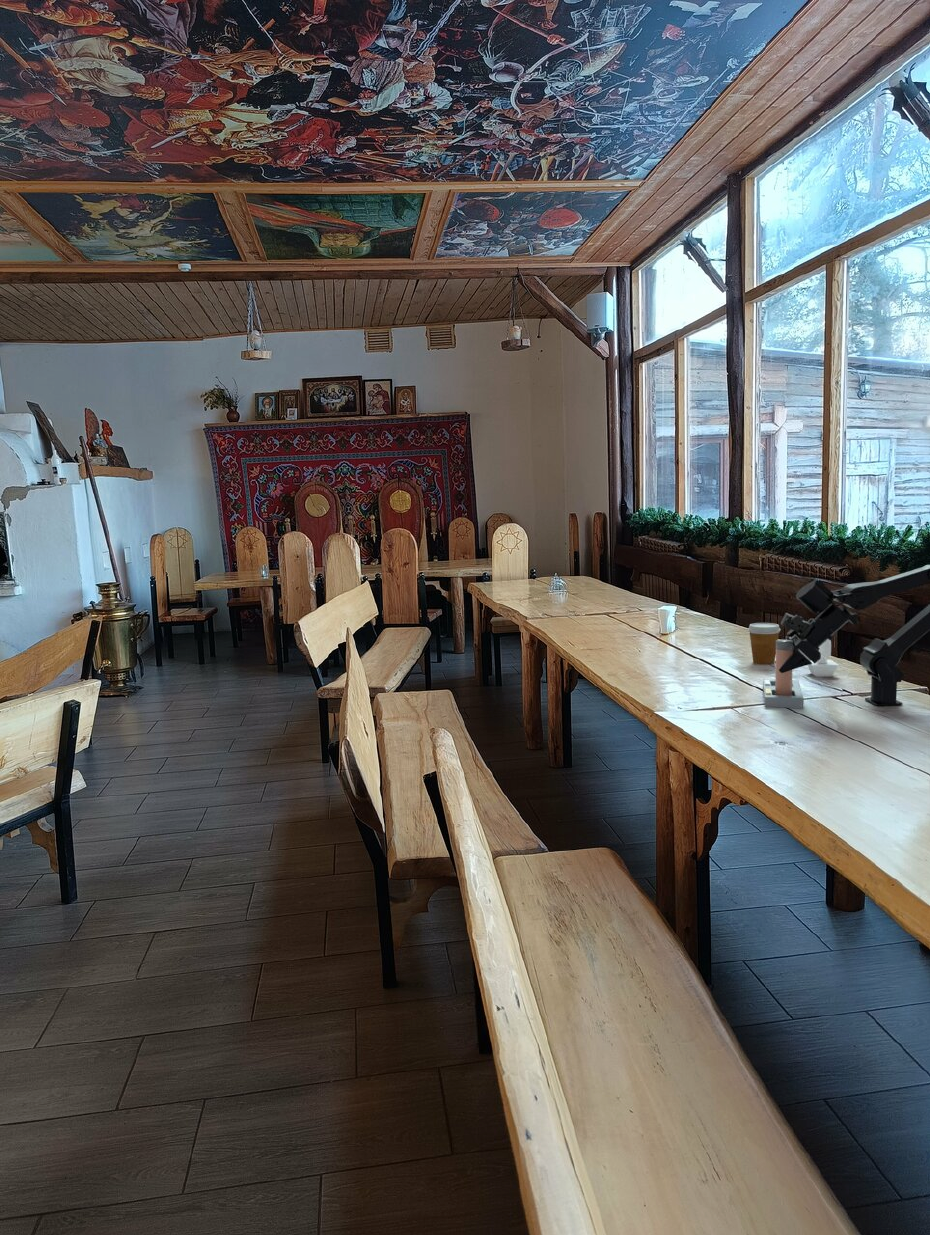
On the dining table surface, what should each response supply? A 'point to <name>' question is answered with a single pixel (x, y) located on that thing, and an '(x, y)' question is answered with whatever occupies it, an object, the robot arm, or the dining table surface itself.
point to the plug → (781, 679)
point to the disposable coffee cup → (763, 642)
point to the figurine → (823, 662)
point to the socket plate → (781, 700)
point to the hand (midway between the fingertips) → (777, 667)
